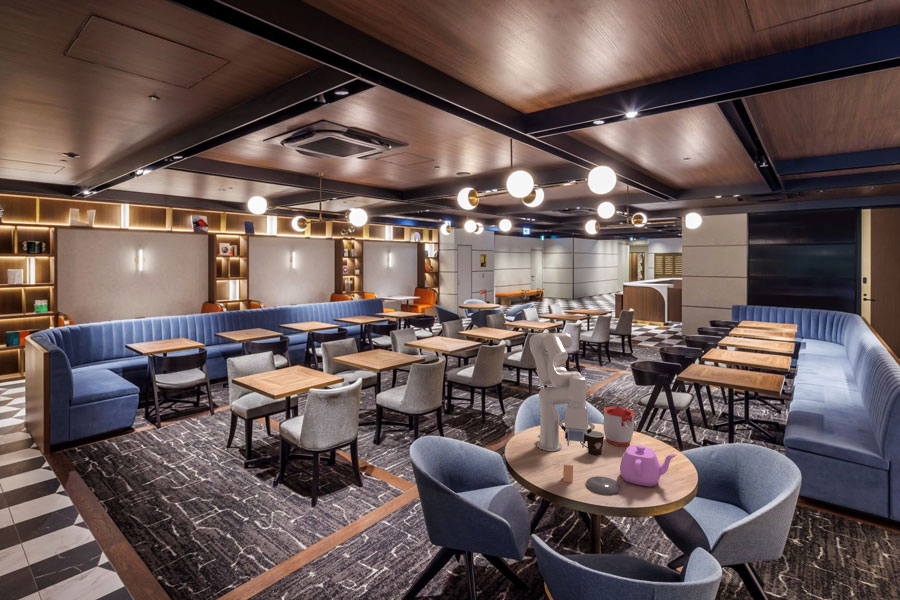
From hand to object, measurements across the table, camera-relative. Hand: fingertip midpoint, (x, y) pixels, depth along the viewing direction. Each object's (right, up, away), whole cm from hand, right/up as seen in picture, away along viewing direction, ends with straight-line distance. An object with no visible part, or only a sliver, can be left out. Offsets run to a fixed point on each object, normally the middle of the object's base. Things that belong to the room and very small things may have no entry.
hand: (575, 441), depth 204 cm
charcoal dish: (+9, -16, -11) cm, 21 cm away
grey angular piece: (0, -1, 0) cm, 1 cm away
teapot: (+28, -16, -5) cm, 32 cm away
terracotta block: (-5, -16, -5) cm, 17 cm away
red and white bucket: (+33, -12, +36) cm, 50 cm away
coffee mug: (+14, -13, +23) cm, 30 cm away
